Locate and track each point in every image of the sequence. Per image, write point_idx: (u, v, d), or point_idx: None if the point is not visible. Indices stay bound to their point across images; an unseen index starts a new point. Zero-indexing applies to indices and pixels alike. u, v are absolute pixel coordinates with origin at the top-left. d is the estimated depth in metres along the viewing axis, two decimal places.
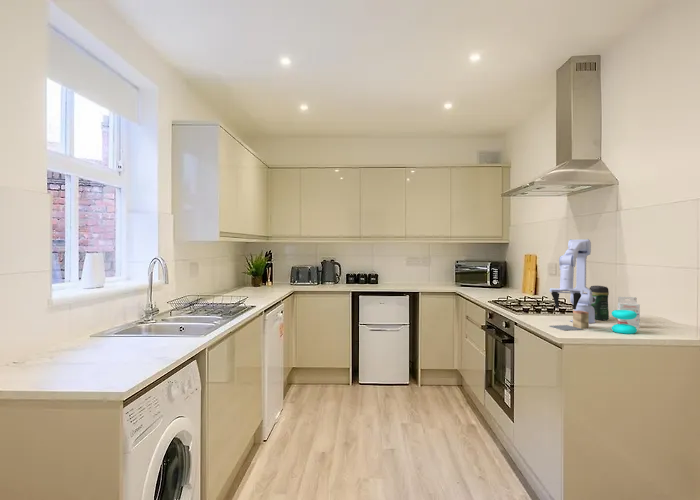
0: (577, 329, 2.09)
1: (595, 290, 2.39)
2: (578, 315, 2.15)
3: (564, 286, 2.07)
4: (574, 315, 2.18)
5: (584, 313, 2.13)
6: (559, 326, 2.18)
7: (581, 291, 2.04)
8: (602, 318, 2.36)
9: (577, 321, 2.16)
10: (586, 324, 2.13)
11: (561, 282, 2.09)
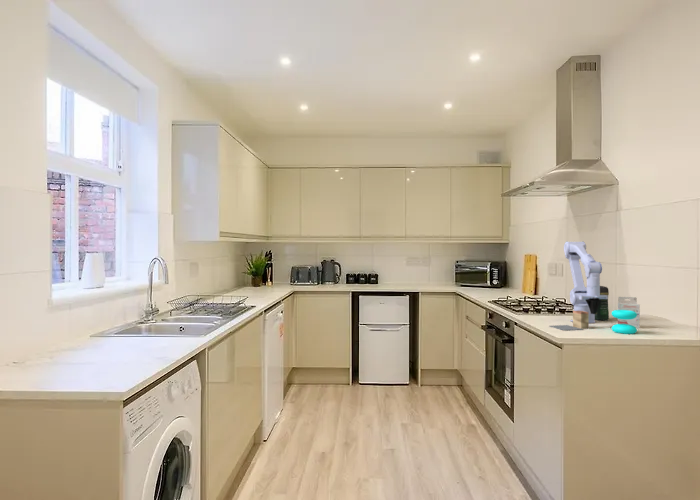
0: (577, 329, 2.09)
1: None
2: (578, 315, 2.15)
3: (597, 293, 2.15)
4: (574, 315, 2.18)
5: (584, 313, 2.13)
6: (559, 326, 2.18)
7: (606, 296, 2.17)
8: (602, 318, 2.36)
9: (577, 321, 2.16)
10: (586, 324, 2.13)
11: (593, 289, 2.15)
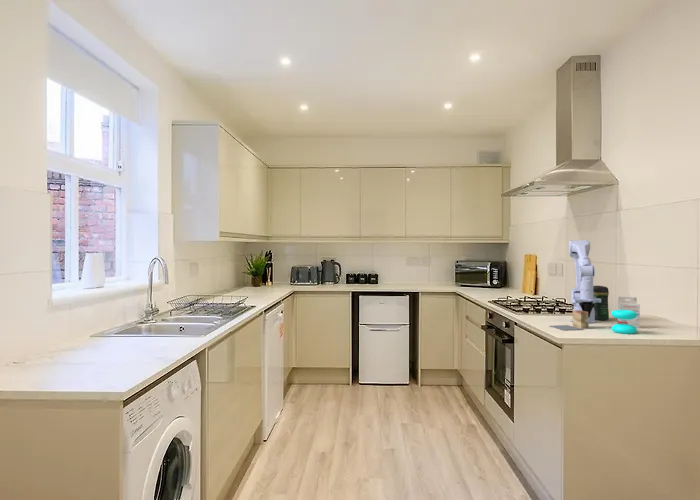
0: (577, 329, 2.09)
1: (595, 290, 2.39)
2: (577, 315, 2.15)
3: (590, 297, 2.14)
4: (573, 315, 2.18)
5: (584, 313, 2.13)
6: (559, 326, 2.18)
7: (600, 300, 2.17)
8: (602, 318, 2.36)
9: (577, 321, 2.16)
10: (586, 324, 2.13)
11: (586, 293, 2.14)
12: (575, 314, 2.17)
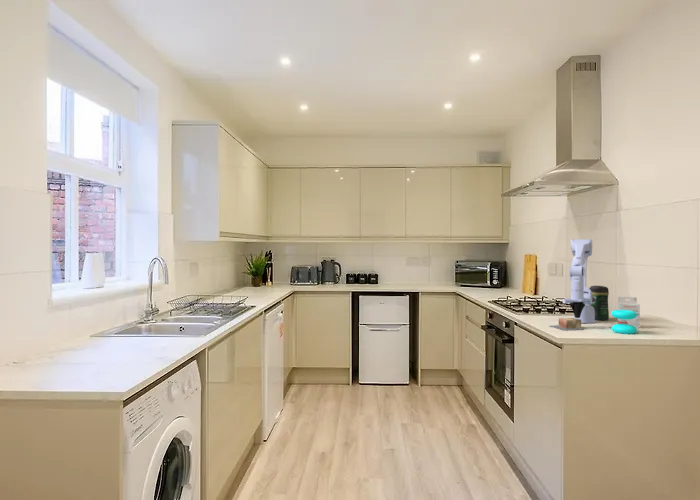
0: (577, 329, 2.09)
1: (595, 290, 2.39)
2: None
3: (580, 297, 2.13)
4: None
5: (567, 324, 2.12)
6: None
7: (590, 300, 2.16)
8: (602, 318, 2.36)
9: None
10: (577, 321, 2.13)
11: (577, 293, 2.13)
12: None
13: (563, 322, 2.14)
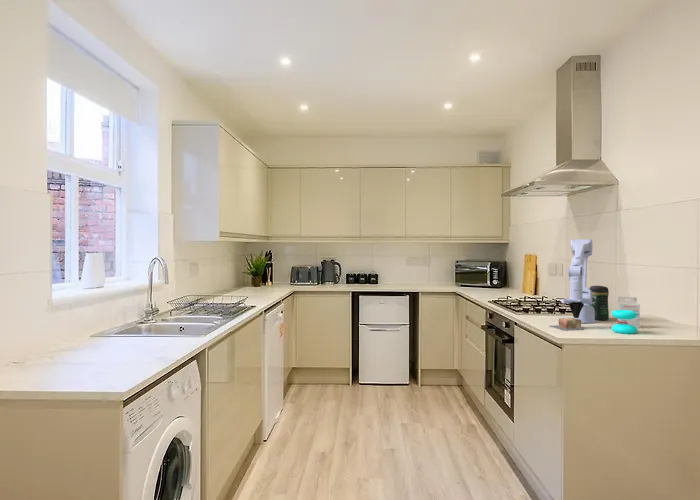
0: (577, 329, 2.09)
1: (595, 290, 2.39)
2: None
3: (579, 297, 2.13)
4: None
5: (567, 324, 2.12)
6: None
7: (589, 300, 2.16)
8: (602, 318, 2.36)
9: None
10: (577, 321, 2.13)
11: (575, 293, 2.13)
12: None
13: (563, 322, 2.14)
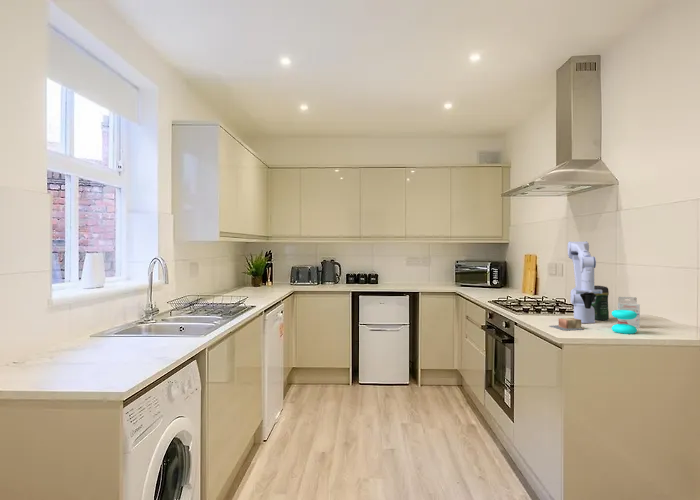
0: (577, 329, 2.09)
1: None
2: None
3: (591, 288, 2.14)
4: None
5: (567, 324, 2.12)
6: None
7: (601, 291, 2.17)
8: (602, 318, 2.36)
9: None
10: (577, 321, 2.13)
11: (587, 284, 2.14)
12: None
13: (563, 322, 2.14)
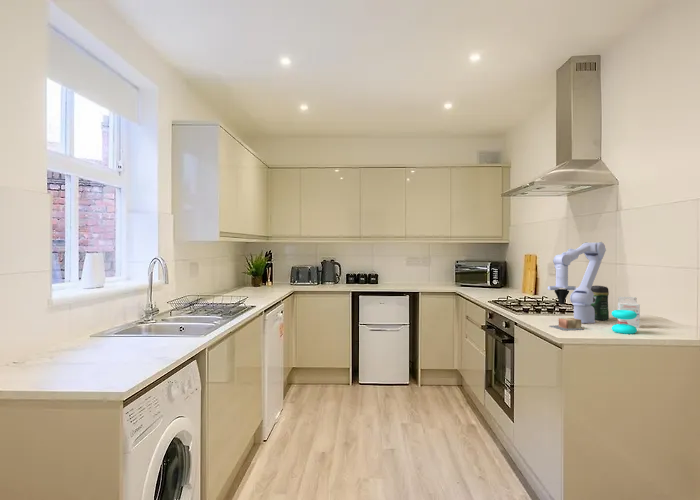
0: (577, 329, 2.09)
1: (595, 290, 2.39)
2: None
3: (564, 284, 2.23)
4: None
5: (567, 324, 2.12)
6: None
7: (574, 288, 2.26)
8: (602, 318, 2.36)
9: None
10: (577, 321, 2.13)
11: (561, 280, 2.23)
12: None
13: (563, 322, 2.14)
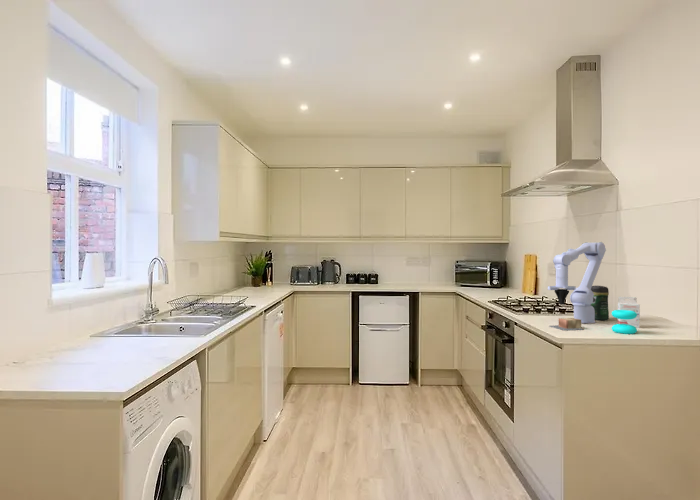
0: (577, 329, 2.09)
1: (595, 290, 2.39)
2: None
3: (564, 284, 2.23)
4: None
5: (567, 324, 2.12)
6: None
7: (574, 288, 2.26)
8: (602, 318, 2.36)
9: None
10: (577, 321, 2.13)
11: (561, 280, 2.23)
12: None
13: (563, 322, 2.14)
